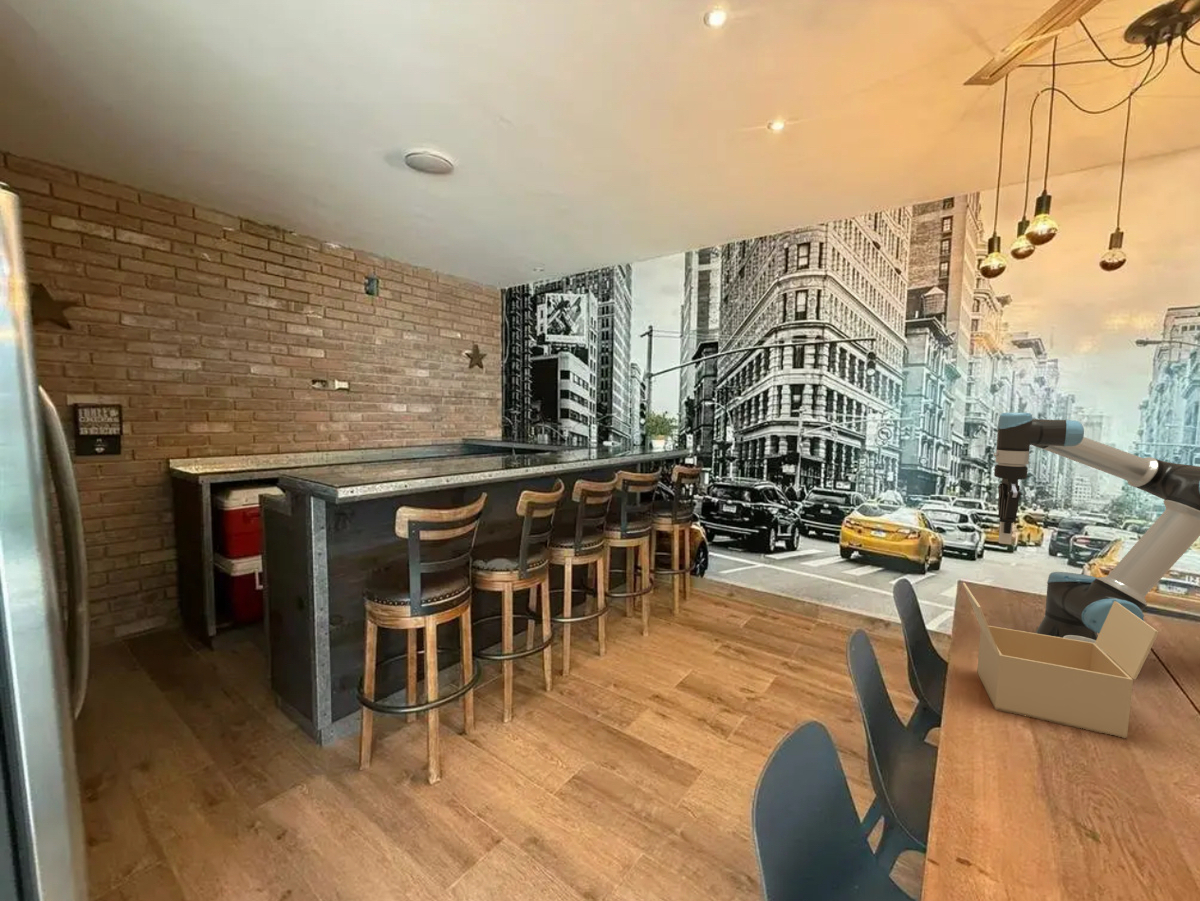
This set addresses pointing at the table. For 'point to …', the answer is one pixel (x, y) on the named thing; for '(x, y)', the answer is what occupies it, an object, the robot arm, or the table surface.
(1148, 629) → the near flap
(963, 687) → the table surface
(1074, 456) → the robot arm
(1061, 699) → the carton
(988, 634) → the far flap
